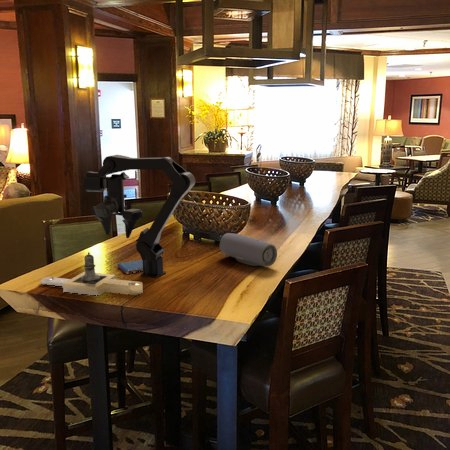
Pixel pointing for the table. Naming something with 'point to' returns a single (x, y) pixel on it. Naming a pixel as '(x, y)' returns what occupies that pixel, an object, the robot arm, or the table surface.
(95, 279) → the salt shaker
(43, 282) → the cream handled frame
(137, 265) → the woven mat
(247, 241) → the bluetooth speaker
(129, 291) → the square wooden loop
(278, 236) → the table surface
